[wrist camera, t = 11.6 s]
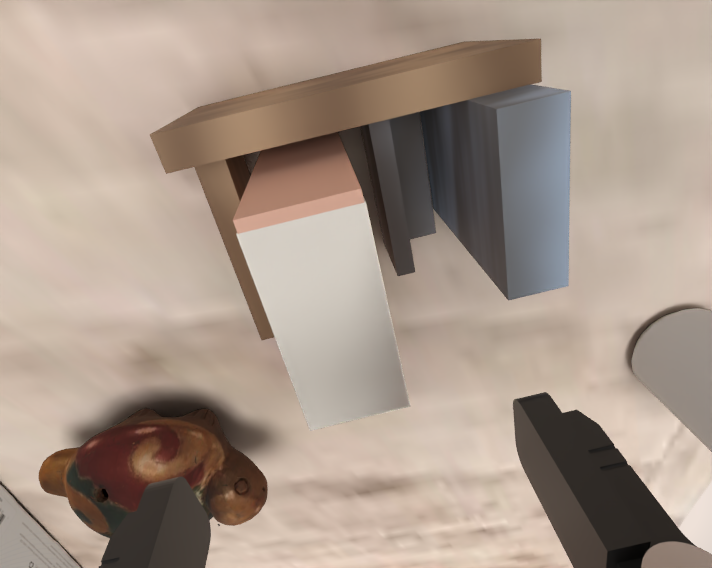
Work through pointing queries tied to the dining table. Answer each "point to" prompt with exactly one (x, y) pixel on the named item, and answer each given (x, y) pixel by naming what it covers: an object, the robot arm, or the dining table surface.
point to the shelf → (413, 155)
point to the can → (680, 367)
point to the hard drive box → (27, 540)
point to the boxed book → (321, 281)
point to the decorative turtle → (155, 469)
